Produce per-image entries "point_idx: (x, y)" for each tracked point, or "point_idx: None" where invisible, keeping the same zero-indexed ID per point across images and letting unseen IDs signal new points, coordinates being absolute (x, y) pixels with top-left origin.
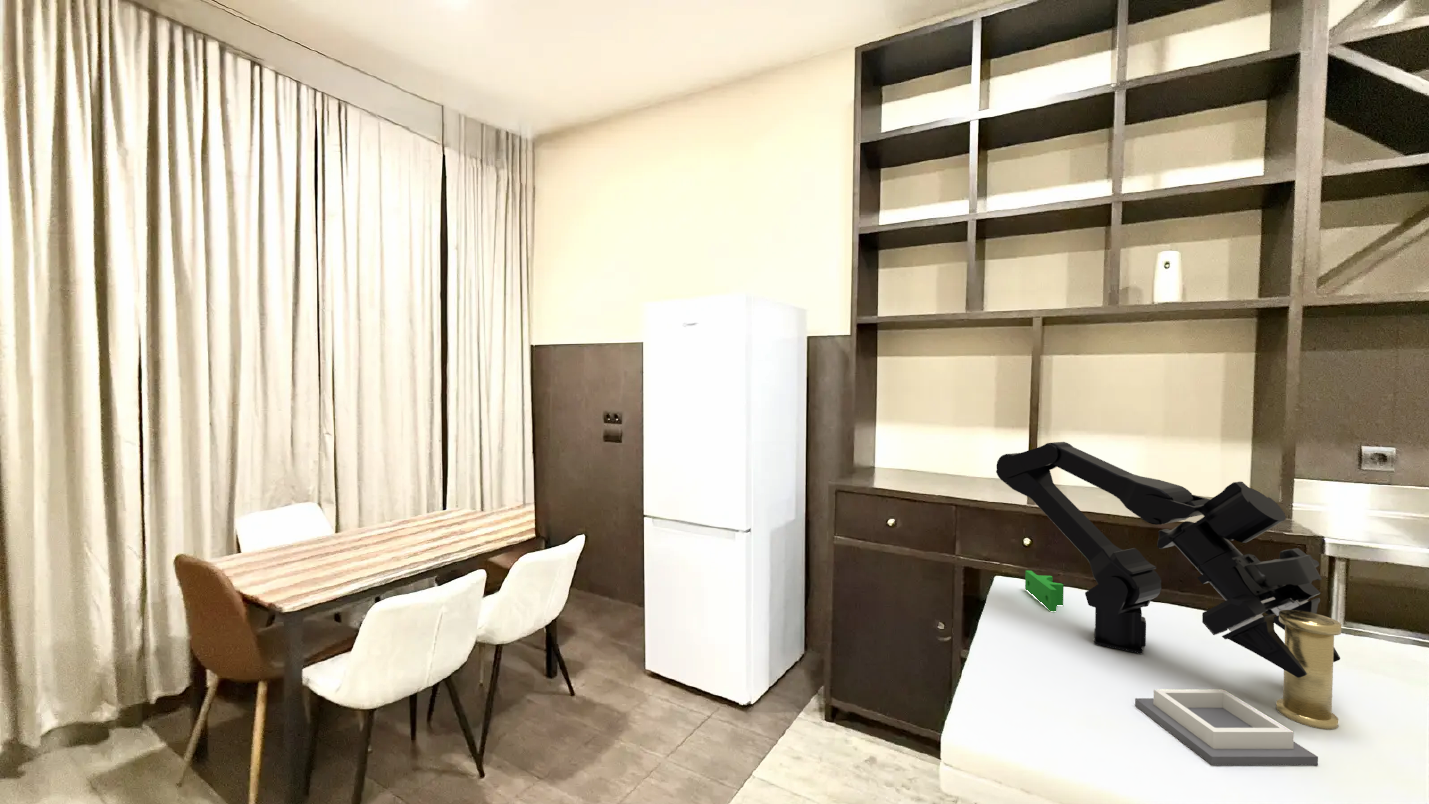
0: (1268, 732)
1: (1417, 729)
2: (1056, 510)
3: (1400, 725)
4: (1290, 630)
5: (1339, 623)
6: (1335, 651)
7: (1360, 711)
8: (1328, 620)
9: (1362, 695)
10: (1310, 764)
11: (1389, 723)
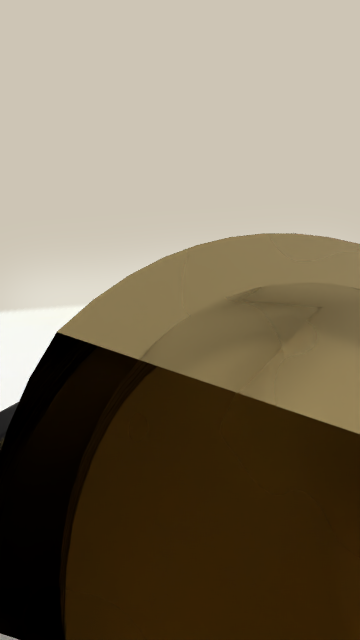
0: None
1: (32, 310)
2: None
3: (37, 331)
4: None
5: (207, 252)
6: (7, 415)
7: (19, 394)
8: (203, 353)
9: None
10: None
11: (45, 345)
